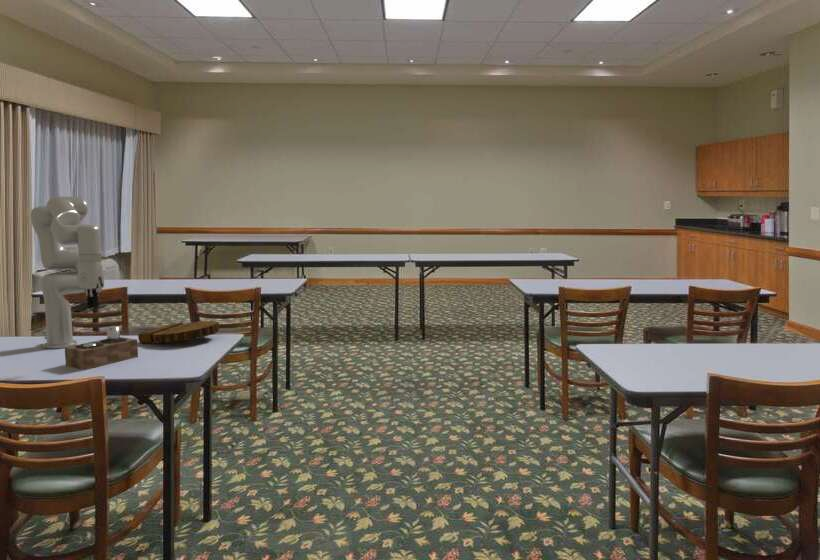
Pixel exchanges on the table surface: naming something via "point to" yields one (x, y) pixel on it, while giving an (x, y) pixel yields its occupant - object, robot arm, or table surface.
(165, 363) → the table surface
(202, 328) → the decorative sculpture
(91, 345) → the peg near
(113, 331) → the peg far
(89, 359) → the socket block
